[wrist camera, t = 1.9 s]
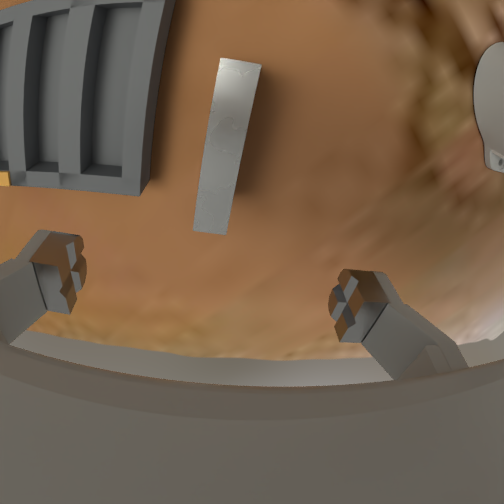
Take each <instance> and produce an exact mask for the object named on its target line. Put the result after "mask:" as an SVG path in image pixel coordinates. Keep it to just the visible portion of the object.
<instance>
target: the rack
mask: <svg viewBox="0 0 504 504" xmlns="http://www.w3.org/2000/svg"><path fill="white" fill-rule="evenodd" d="M175 1H176V0H32V1H29V2H25V3H22V4H18V5H15V6H12V7H9V8H6V9H3V10H0V186H10V185H13V186H29V187H44V188H57V189H69V190H80V191H91V192H102V193H112V194H122V195H131V196H140V195H141V193H142V192H143V190H144V188H145V187H146V185H147V183H148V182H149V179H150V164H151V152H152V141H153V131H154V122H155V113H156V105H157V98H158V90H159V84H160V77H161V71H162V65H163V59H164V53H165V48H166V43H167V38H168V33H169V28H170V23H171V19H172V14H173V10H174V6H175Z"/></svg>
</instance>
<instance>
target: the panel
mask: <svg viewBox="0 0 504 504" xmlns="http://www.w3.org/2000/svg"><path fill="white" fill-rule="evenodd" d="M260 70H261V65H260V64H255V63H250V62H244V61H239V60H233V59H226V58H221V60H220V65H219V70H218V74H217V79H216V85H215V90H214V95H213V100H212V106H211V111H210V117H209V123H208V128H207V134H206V140H205V147H204V153H203V159H202V166H201V173H200V180H199V187H198V194H197V202H196V210H195V218H194V226H193V231H199V232H207V233H215V234H222V235H226V233H227V227H228V222H229V217H230V212H231V206H232V201H233V196H234V191H235V186H236V181H237V176H238V171H239V166H240V161H241V157H242V152H243V147H244V142H245V137H246V133H247V128H248V123H249V119H250V114H251V110H252V105H253V101H254V96H255V92H256V87H257V83H258V78H259V74H260Z"/></svg>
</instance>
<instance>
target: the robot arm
mask: <svg viewBox="0 0 504 504" xmlns="http://www.w3.org/2000/svg"><path fill="white" fill-rule="evenodd" d="M474 109H475V115H476V120H477V124H478V127H479V130H480V133H481V135H482V138H483V141H484V151H485V164H486V166H487V167H488V168H490V169H492V170H494V171H498V172H503V173H504V42H499V43H495V44H493V45H492V46H490V47H489V48H488V49H487V50H486V51H485V53H484V54H483V56H482V57H481V60H480V62H479V64H478V67H477V71H476V75H475V82H474ZM83 249H84V244H83V238H82V237H81V236H80V235H74V234H68V233H61V232H55V231H48V230H38V231H37V232H36V233H35V234H34V236H33V237H32V238H31V239H30V241H29V242H28V243H27V244H26V246H25V247H24V248H23V249H22V251H21V252H20V253H19V255H18V256H17V257H16V259H10V260H8V261H6V262H4V263H2V264H0V504H504V359H502V360H498V361H494V362H490V363H487V364H483V365H478V366H474V367H468V365H467V363H466V361H465V359H464V357H463V356H462V354H461V352H460V350H459V348H458V346H457V345H456V343H455V342H454V341H453V340H452V339H451V338H449V337H448V336H447V335H446V334H444V333H443V332H442V331H441V330H439V329H438V328H437V327H435V326H434V325H433V324H432V323H430V322H429V321H428V320H427V319H425V318H424V317H423V316H421V315H420V314H419V313H418V312H416V311H415V310H414V309H412V308H411V307H410V306H408V305H407V304H403V302H402V300H401V299H400V297H399V295H398V294H397V292H396V290H395V288H394V287H393V285H392V283H391V282H390V280H389V279H388V277H387V275H386V274H385V273H383V272H376V271H361V270H352V269H343V270H342V271H341V272H340V274H339V277H338V281H339V285H337V286H336V287H334V288H333V289H332V291H331V294H330V296H329V302H328V308H329V313H330V316H331V317H332V318H333V319H334V320H335V321H336V324H335V326H334V327H335V330H336V333H337V336H338V339H339V342H351V343H362V345H363V346H364V347H365V348H366V349H367V351H368V352H369V353H370V354H371V355H372V356H373V357H374V358H375V359H376V361H377V362H378V363H379V364H380V365H381V366H382V367H383V368H384V369H385V371H386V372H387V373H388V374H389V375H390V376H391V377H392V378H393V379H394V380H391V381H383V382H374V383H363V384H362V383H361V384H349V385H332V386H306V387H259V386H234V385H218V384H204V383H194V382H183V381H175V380H166V379H159V378H151V377H144V376H138V375H131V374H126V373H120V372H114V371H109V370H104V369H99V368H94V367H89V366H85V365H80V364H76V363H72V362H68V361H64V360H60V359H56V358H52V357H47V356H44V355H41V354H37V353H34V352H31V351H27V350H24V349H21V348H17V347H14V346H11V345H9V344H10V343H11V342H13V341H14V340H15V339H16V338H17V337H18V336H19V335H20V334H22V333H23V332H24V331H25V330H26V329H27V328H28V327H30V326H31V325H32V324H33V323H34V322H35V321H37V320H38V319H39V318H40V317H41V316H42V315H44V314H45V313H46V312H47V310H48V311H53V312H58V313H64V314H71V312H72V309H73V307H74V305H75V303H76V301H77V296H76V292H78V291H79V290H81V289H82V287H83V285H84V283H85V279H86V274H87V265H86V259H85V258H84V257H83V255H82V254H81V252H82V250H83Z"/></svg>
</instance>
